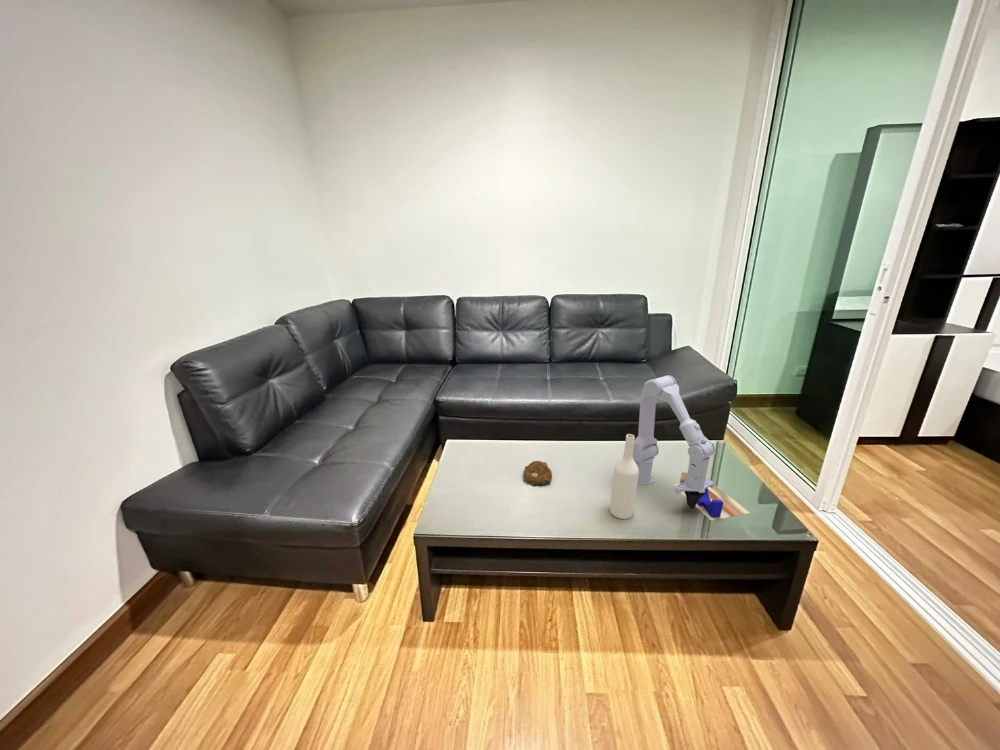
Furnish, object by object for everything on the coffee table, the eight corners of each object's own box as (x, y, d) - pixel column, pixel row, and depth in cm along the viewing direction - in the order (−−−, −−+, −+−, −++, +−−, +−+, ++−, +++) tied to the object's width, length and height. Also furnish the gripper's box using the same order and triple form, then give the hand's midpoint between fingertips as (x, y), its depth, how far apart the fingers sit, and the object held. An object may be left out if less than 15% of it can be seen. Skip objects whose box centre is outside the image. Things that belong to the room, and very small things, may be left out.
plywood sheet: (711, 521, 133) (711, 520, 133) (671, 485, 152) (671, 484, 152) (749, 513, 137) (750, 512, 137) (706, 479, 156) (706, 478, 156)
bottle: (621, 501, 143) (630, 428, 133) (638, 514, 136) (649, 438, 126) (604, 508, 140) (612, 433, 130) (620, 522, 133) (630, 444, 123)
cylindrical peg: (682, 490, 148) (685, 477, 146) (677, 486, 151) (679, 473, 149) (689, 489, 149) (692, 476, 147) (684, 485, 152) (686, 471, 150)
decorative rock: (523, 466, 166) (524, 489, 152) (522, 458, 165) (524, 480, 151) (550, 465, 166) (554, 487, 152) (550, 457, 164) (554, 479, 151)
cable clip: (691, 495, 146) (693, 481, 144) (703, 495, 146) (706, 481, 144) (706, 517, 135) (709, 502, 133) (720, 517, 134) (723, 502, 132)
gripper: (686, 483, 129) (680, 517, 133) (723, 476, 132) (716, 510, 136) (672, 471, 135) (667, 504, 140) (708, 465, 138) (701, 497, 143)
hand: (690, 506), depth 138 cm, fingers closed
